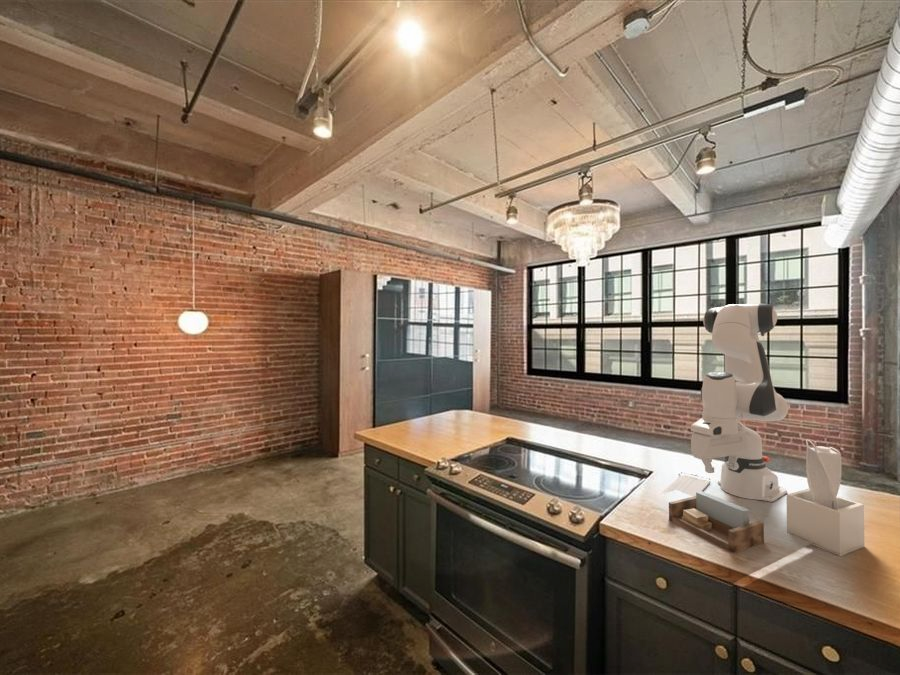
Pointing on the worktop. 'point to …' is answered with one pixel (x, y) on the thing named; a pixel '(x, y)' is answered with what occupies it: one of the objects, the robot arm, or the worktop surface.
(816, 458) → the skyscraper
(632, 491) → the worktop surface
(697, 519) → the offcut short
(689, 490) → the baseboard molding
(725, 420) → the robot arm
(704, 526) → the offcut mid
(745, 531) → the rack
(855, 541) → the open white box
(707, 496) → the pale blue-grey board
